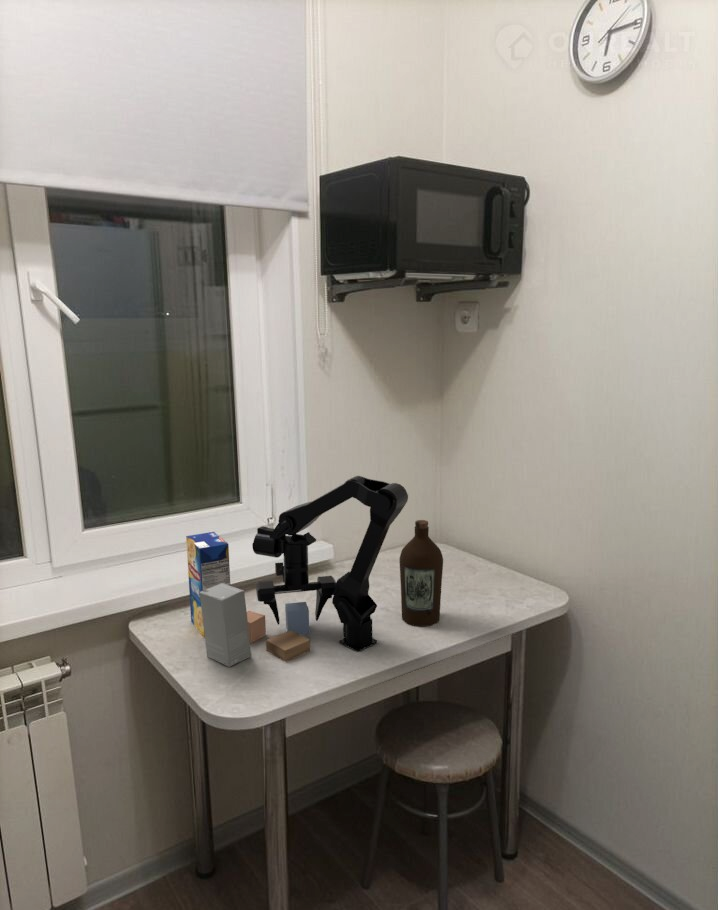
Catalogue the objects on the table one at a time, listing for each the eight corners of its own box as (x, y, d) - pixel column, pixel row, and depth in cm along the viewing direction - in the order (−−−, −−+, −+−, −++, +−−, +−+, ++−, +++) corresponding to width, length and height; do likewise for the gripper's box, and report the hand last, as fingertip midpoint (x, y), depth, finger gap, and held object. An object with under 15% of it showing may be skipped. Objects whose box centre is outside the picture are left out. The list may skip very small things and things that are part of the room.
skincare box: (252, 657, 150) (249, 589, 147) (225, 669, 145) (222, 599, 142) (228, 645, 156) (225, 580, 153) (202, 657, 151) (198, 589, 148)
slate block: (306, 624, 167) (305, 601, 166) (309, 633, 162) (308, 609, 161) (285, 626, 166) (285, 603, 164) (288, 635, 161) (287, 612, 160)
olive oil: (402, 608, 176) (402, 514, 171) (443, 611, 174) (445, 516, 169) (396, 626, 165) (396, 526, 161) (440, 629, 163) (441, 529, 158)
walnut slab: (310, 652, 153) (310, 640, 153) (285, 663, 149) (285, 650, 148) (291, 642, 158) (290, 630, 158) (266, 652, 154) (265, 639, 153)
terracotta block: (265, 635, 161) (265, 615, 161) (251, 643, 157) (250, 623, 156) (249, 630, 164) (248, 610, 163) (235, 638, 160) (234, 618, 159)
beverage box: (204, 638, 160) (199, 548, 155) (191, 621, 169) (186, 536, 165) (232, 631, 163) (228, 543, 159) (217, 615, 172) (213, 531, 168)
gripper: (329, 546, 170) (330, 604, 173) (253, 552, 166) (255, 612, 169) (337, 561, 159) (338, 623, 162) (256, 567, 155) (259, 631, 158)
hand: (297, 622), depth 163 cm, fingers open, 9 cm apart
